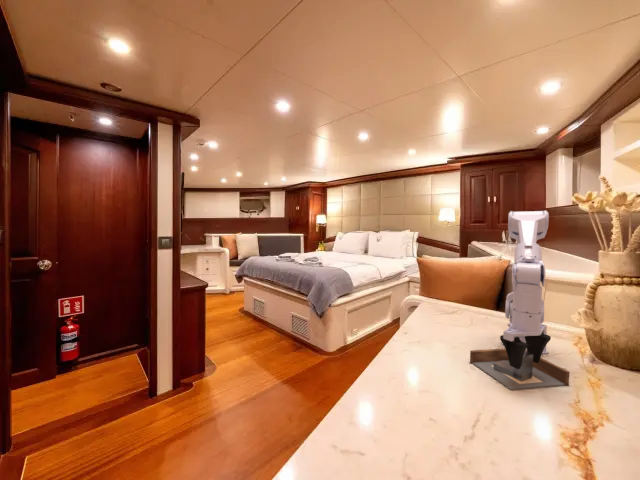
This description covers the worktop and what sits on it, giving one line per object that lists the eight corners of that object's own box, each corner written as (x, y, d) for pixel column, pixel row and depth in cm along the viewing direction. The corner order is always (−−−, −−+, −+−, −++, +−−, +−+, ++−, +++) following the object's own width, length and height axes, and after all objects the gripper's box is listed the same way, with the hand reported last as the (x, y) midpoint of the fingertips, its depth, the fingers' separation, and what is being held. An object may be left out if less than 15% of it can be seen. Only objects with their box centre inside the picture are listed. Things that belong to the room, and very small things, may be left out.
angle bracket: (532, 377, 70) (533, 354, 70) (521, 381, 68) (522, 357, 68) (503, 365, 76) (504, 343, 76) (493, 368, 74) (494, 346, 74)
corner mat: (519, 358, 81) (519, 357, 81) (568, 385, 67) (568, 383, 67) (470, 362, 79) (470, 360, 79) (510, 390, 65) (510, 388, 65)
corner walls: (519, 358, 81) (519, 347, 81) (568, 385, 67) (569, 371, 67) (470, 362, 79) (470, 350, 79) (510, 390, 65) (511, 376, 65)
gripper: (526, 303, 76) (524, 352, 76) (491, 309, 70) (490, 362, 70) (557, 310, 69) (554, 364, 70) (521, 317, 63) (519, 376, 64)
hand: (524, 364), depth 69 cm, fingers open, 7 cm apart
